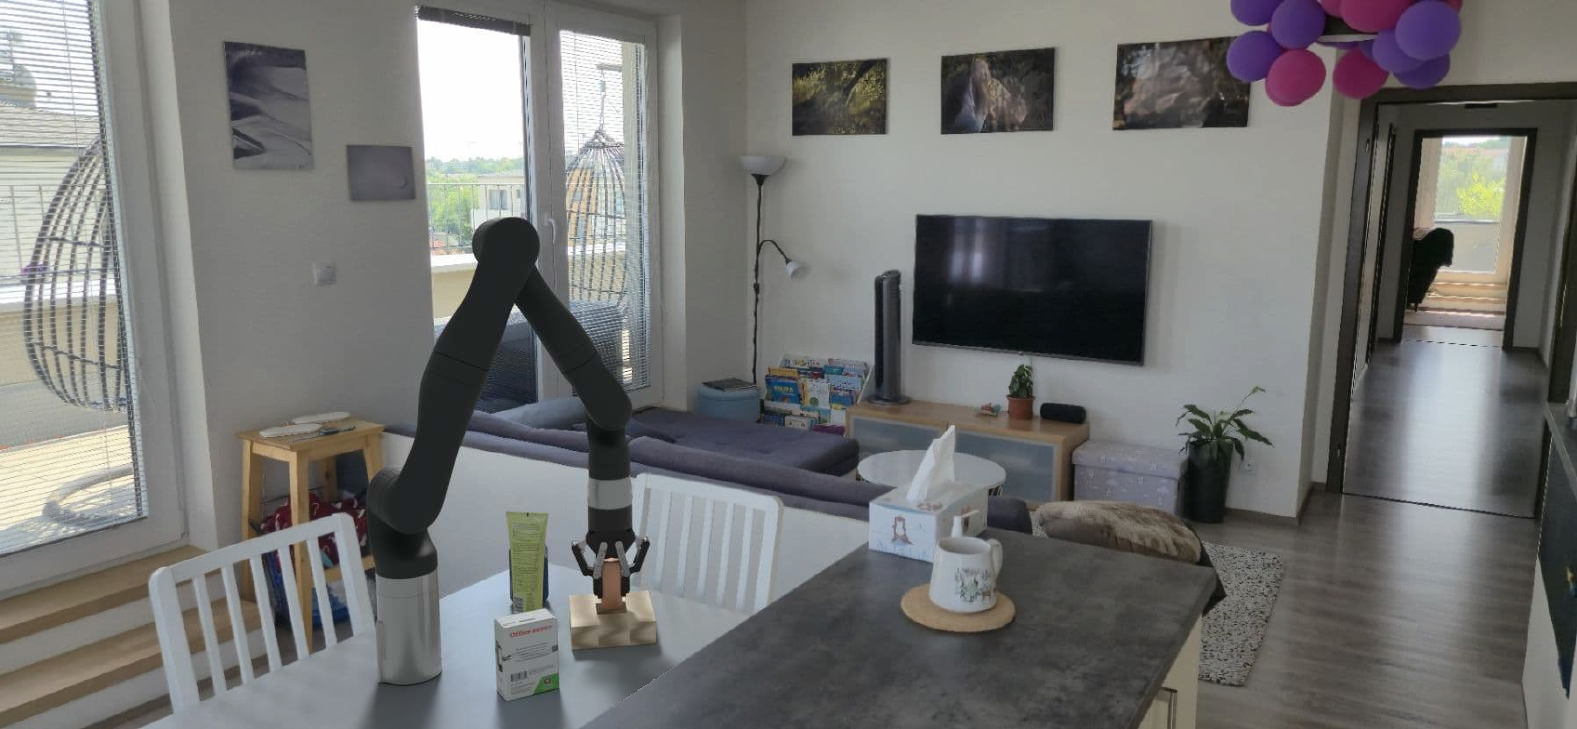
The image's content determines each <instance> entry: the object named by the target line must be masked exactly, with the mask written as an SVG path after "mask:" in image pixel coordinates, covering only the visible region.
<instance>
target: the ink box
mask: <svg viewBox="0 0 1577 729" xmlns="http://www.w3.org/2000/svg"><path fill="white" fill-rule="evenodd" d="M493 623H494V624H493V625H494V627H493V629H494V630H493V631H494V655H495V676H496V679H495V680H496V681H495V682H496V691H497V692H498V693H499V695H500V696H501V695H502V696H503V697H502V698H503V699H504V700H505V701H506V702H511V701H515V700H518V699H522V698H525V697H529V696H533V695H536V694H537V695H538V694H541V693H544V692H549V691H552V690H555V689H560V686H561V685H560V666H559V664H560V663H559V662H560V661H559V660H560V659H559V641H558V640H559V639H558V638H559V634H558V632H559V631H558V618H557V617H556V616H555V615H554V614H553V612H551V611H550V610H549V609H548V608H546V607H544V608H542V609H539V610H535V611H530V612H525V613H520V614H515V615H514V614H511V615H506V616H501V617H496V618H494V620H493Z"/></svg>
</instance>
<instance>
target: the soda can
mask: <svg viewBox="0 0 1577 729" xmlns="http://www.w3.org/2000/svg"><path fill="white" fill-rule="evenodd" d="M548 551H549V550H548V546H547V544H546V543H545V552H544V570H543V599H542V604H543V605H544V604H545V603H546V601H547V599H548V597H549V595H550V594H549V592H550V591H549V590H550V588H549V552H548ZM508 563H509V564H508V566H509V568H508V570H509V572H508V573H509V598H510V601H511V602H512V603H513V583H512V566H511V553H510V548H509V549H508Z"/></svg>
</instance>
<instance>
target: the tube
mask: <svg viewBox="0 0 1577 729" xmlns="http://www.w3.org/2000/svg"><path fill="white" fill-rule="evenodd" d="M505 518H506V522H507V530H508V540H509V549H510V553H511V566H512V583H513V602H512V603H513V606H512V607H513V615H515V614H520V613H525V612H530V611H535V610H539V609H543V605H542V599H543V570H544V552H545V544H546V538H547V527H548V520H549V512H531V511H529V512H527V511H511V510H510V511H509V510H506V511H505Z"/></svg>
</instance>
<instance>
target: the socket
mask: <svg viewBox="0 0 1577 729" xmlns="http://www.w3.org/2000/svg"><path fill="white" fill-rule="evenodd" d="M649 592H650V591H649V590H635V591H634V590H632V591H631V590H630V592H629V593H626V597H622V606H621V607H619V608H616V609H605V608H603V607H602V606H601V599H598V597H597V596H595V595H594V593H589V594H572V595H571V594H569V596H568V597H569V598H568V604H569V605H568V606H569V610H568V611H569V628H570V644H571V645H570V646H571V650H573V651H574V650H586V649H588V650H589V649H601V648H612V647H613V648H615V647H628V646H629V647H630V646H638V645H639V646H640V645H641V646H642V645H653V644H657V620H656V617H655V611H654V609H653V604H652V601H651V597H650V593H649Z"/></svg>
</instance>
